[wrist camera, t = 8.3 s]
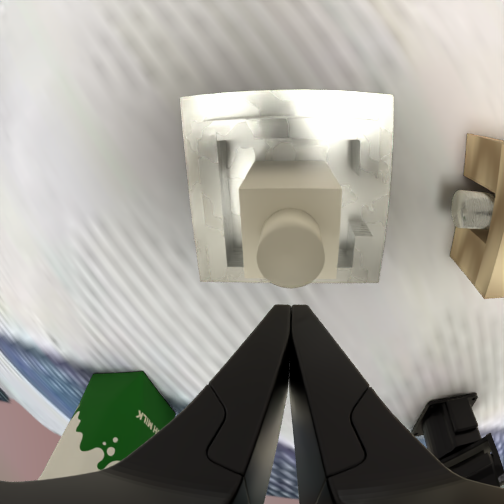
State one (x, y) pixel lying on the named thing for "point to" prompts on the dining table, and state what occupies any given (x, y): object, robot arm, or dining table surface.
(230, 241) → the socket
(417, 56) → the dining table surface
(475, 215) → the pin
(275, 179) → the spigot
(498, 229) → the mount
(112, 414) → the milk carton
